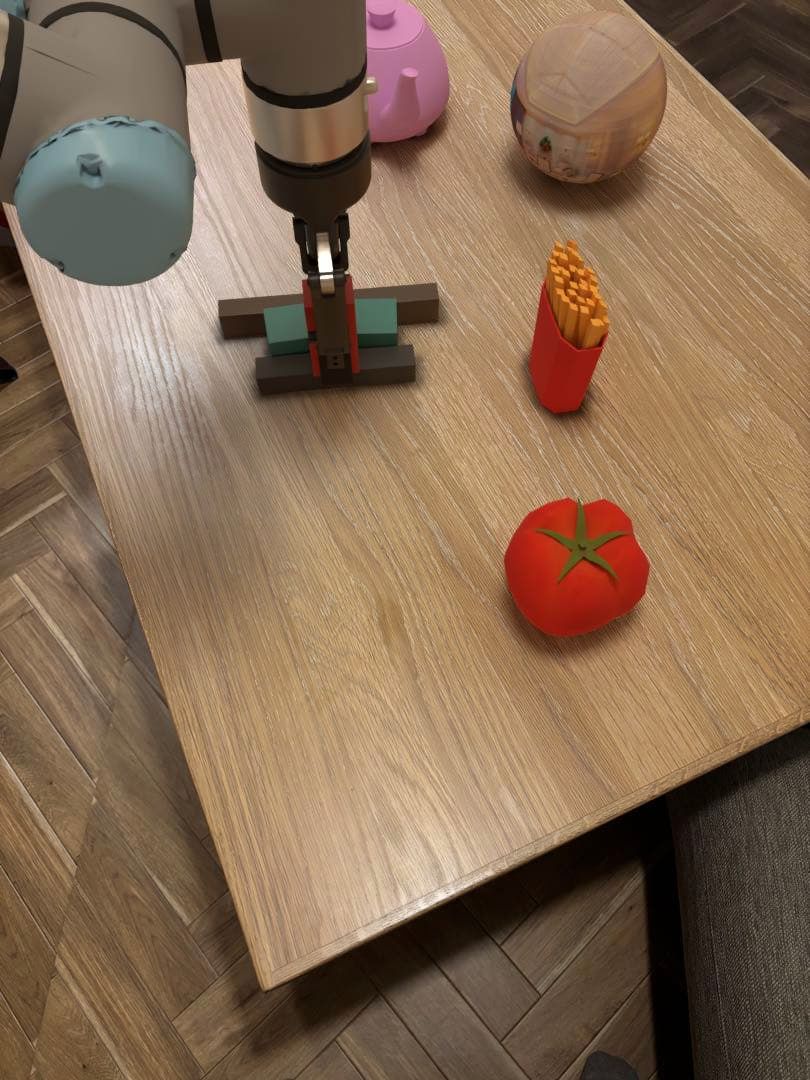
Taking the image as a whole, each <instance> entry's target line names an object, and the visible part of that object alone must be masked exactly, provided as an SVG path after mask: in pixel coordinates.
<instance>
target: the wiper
mask: <svg viewBox="0 0 810 1080" xmlns="http://www.w3.org/2000/svg"><path fill="white" fill-rule="evenodd" d="M301 287H302V293H303V302H304V311H305V318H306V325H307V332H308V331H315V329H316V328H315V320H314V313H313V305H312V298H311V292H310V287H309V286H308V285H307V278H305V279H301ZM353 289H354V283H353V276H352V275H350V276H347V283H346V284H345V292H346V307H347V320H348V327H349V334H350V336H349V338H350V342H351V348H350V350H351V364H352V377H353V383H346V384H335V385H323V386H322V381H321V374H320V366H319V358H318V351H317V349H316V345H317V343H316V344H309V346H310V353H303V354H291V355H280V356H271V355H270V356H269V355H268V356H259V357H255V360H254V361H255V379H256V380H255V381H256V384H257V387H258V392H259V395H260V396H266V395H277V394H278V395H279V394H288V393H300V392H310V391H311V392H312V391H322V390H334V389H344V388H345V389H347V388H357V387H368V386H378V385H391V384H403V383H413V382H416V375H417V372H416V371H417V362H416V357H415V350H414V344H413V343H409V344H397V345H396V346H384V347H373V348H361V349H358V342H357V327H356V312H355V300H354V291H353Z"/></svg>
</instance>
